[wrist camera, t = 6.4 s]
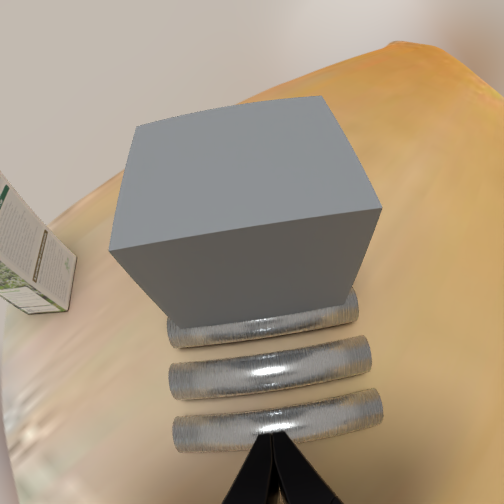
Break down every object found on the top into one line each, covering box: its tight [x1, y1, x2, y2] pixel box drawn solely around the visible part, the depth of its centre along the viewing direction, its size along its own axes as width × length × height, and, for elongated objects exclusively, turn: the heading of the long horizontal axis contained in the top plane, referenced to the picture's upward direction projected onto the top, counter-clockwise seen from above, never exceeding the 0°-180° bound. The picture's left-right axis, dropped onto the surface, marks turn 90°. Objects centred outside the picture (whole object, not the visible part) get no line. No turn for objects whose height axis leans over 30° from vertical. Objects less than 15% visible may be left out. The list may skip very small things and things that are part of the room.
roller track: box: [167, 287, 383, 453], centre depth 18 cm, size 13×12×2 cm
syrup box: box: [0, 171, 77, 314], centre depth 18 cm, size 6×6×14 cm
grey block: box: [109, 96, 382, 329], centre depth 16 cm, size 8×10×9 cm
